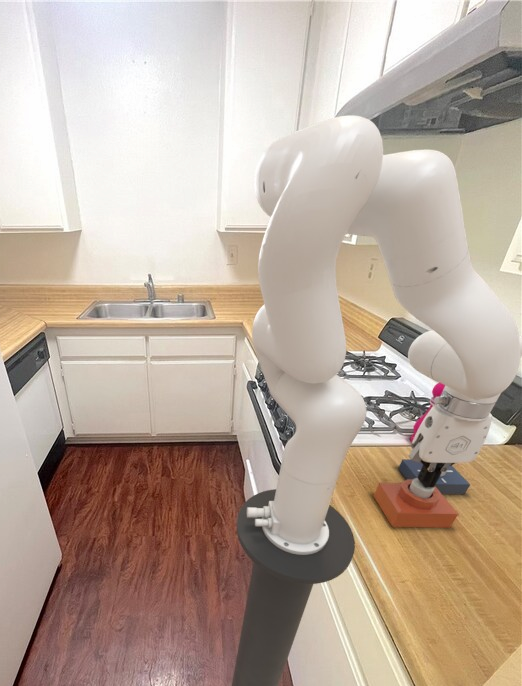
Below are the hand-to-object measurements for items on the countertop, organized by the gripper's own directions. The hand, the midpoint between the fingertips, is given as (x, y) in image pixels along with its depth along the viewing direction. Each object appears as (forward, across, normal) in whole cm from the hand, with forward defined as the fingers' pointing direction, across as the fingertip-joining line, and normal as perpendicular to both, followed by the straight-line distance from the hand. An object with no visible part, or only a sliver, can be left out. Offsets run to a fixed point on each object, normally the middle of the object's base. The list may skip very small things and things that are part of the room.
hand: (425, 482), depth 70 cm
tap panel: (+8, +10, +10) cm, 16 cm away
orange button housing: (+8, 0, 0) cm, 8 cm away
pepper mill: (+8, +17, +26) cm, 32 cm away
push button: (+2, 0, 0) cm, 2 cm away
